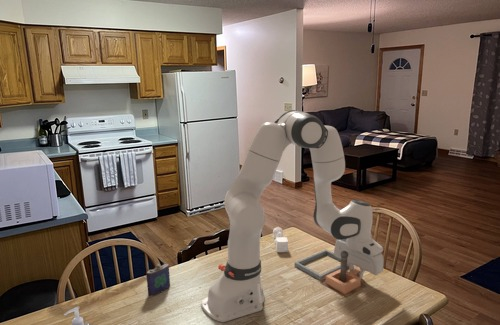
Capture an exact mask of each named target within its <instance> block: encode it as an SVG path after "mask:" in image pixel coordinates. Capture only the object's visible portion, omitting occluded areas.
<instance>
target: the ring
mask: <svg viewBox="0 0 500 325" xmlns="http://www.w3.org/2000/svg"><path fill="white" fill-rule="evenodd" d="M340 271H341V269H339V270H337V271H335V272H333V273H331V274H329V275H327V276H326V278H325V280H326V281H325V280H324V281H325V283H326V284H328V285H329V286H331V287H333V288H335V289H337V290H338V291H340V292H342V293H344V294H346V293H348V292H350V291H351V290H353V289H355V288H357V287H359V286H360V285H361V283H362V282H361V281H362V278H360V277H358V276H357V273H358V272H361V270H360V268H359V267H356V268H354V270H352V271H350V270H349V271H347V274H346V281H348V282H346V283H343V282H341V281H339V279H340Z"/></svg>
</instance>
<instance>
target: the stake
mask: <svg viewBox="0 0 500 325" xmlns="http://www.w3.org/2000/svg"><path fill="white" fill-rule="evenodd" d="M347 257H348V252H346V251H342V252H341V261H340V265H341V271H340V279H339V281H341V282H343V283H346V282H348V281H346V274H347V272H348V267H347ZM325 281H326V279H324V280H321V282H320V283H319V284H321V285H322V286H324V287H326V288H328V289H329V290H331V291H333V292H335V293H336V294H339V295H340V296H342V297H344V298H348V297H349V296H351V295H353V294H355V293H357V292H359V291H360V290H362V289H364V288H365V287H367V285H365V284H363V283H362V282H361V285H360V286H359V287H357V288H355V289H353V290H351V291H350V292H348V293H346V294H344V293H342V292H340V291H338V290H337V289H335V288H333V287H331V286H329V285H328V284H326V283H325Z"/></svg>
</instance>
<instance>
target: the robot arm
mask: <svg viewBox="0 0 500 325" xmlns="http://www.w3.org/2000/svg"><path fill="white" fill-rule="evenodd" d="M291 144H293V145H294V146H296V147H297V146H298V147H300V148H302V149H303V148H304V149H309V151H310V157H311V164H312V170H313V190H314V200H315V202H314V203H315V204H314V209H313V210H314V211H313V221H314V223H315V225H316V226H317V227H318V228H321V229H322V230H324V232H326V233H328V234H329V235H330V236H332V237H333V238H334V239H335V245H334V248H333V253H334V254H335V256H336V257H338V258H340V259H341V252H342V251H346V252H348V257H347V262H348V266H349V267H348V268H349V272H350V271H352V270H354V269H355V267H356V268H358V269H360V270H361V272H358V273H357V276H358V277H360V278H361V279H363V278H364V273H365V272H367V273H370V274H372V275H374V276H378V275H380V274H382V272H383V271H384V265H385V264H384V256H383V254H382V252H383V251H384V247H383V246H382V245H381V244H379V243H378V242H377V241H376V240H374V238H372V232H371V230H372V226H373V219H374V218H373V209H372V208H373V207H372V206H371V204H370V203H369V202H366V201H364V200H361V199H352V200H350V202H349V204H347V205H346V206H344V207H343V208H342V209H341V208H340V209H339V208H338V207H337V206H336V205H335V204H334V202H333V197H332V182H335V181H337V180H339V179H341V177H342V176H343V175H344V173H345V171H346V159H345V154H344V150H343V149H344V148H343V144H342V139H341V137H340V135H339V132H338V130H337V128H335V127H334V126H331V125H325V124H324V123H323V122H322V121H321V120H320V119H319V117H317V116H315V115H313V114H310V113H307V112H306V111H302V110H301V111H300V110H288V111H286V112H284V113H283V114H281V115H280V117H278V119H276V120H275V121H272V122H271V121H269V122H264V123H262V124H261V125H260V126H259V128H258V129H257V131H256V133H255V135H254V136H253V138H252V141H251V143H250V145H249V147H248V150H247V152H246V154H245V157H244V160H243V163H242V166H241V168H240V169H239V173H238V174H237V176H236V178H235V179H234V180H233V183H232V185H231V186H230V188H229V189H228V190H227V191H226V194H225V196H224V200H223V201H224V202H223V203H224V204H223V205H224V209H225V211H226V214H227V215H228V219H229V234H228V240H227V261H226V264H225V265H224V264H223V263H219V264H218V267H217V268H218V270H220V271H221V272H223V273H221V275H220V276H219V277H218V278H217V279H216V280H215V281H214V282H213V284H212V285H211V286H210V287H209V289H208V293H207V297H205V298H203V299H202V300H201V309H202V310H203V312H204V313H205V314H206V315H207V316H209V317H210V318H211V319H213V320H215V321H217V322H220V323H225V322H229V321H233V320H236V319H238V318H241V317H245V316H248V315H251V314H255V313H258V312H261V311H263V309H264V308H263V303H264V301H265V294H264V290H263V286H262V278H261V272H262V261H261V258H260V257H261V236H262V232H263V227H264V226H265V223H266V214H265V210H264V206H263V205H262V204H261V202H260V201H259V200H260V198H261V196H262V194H263V193H264V191H265V189H266V188H267V187H268V186H270V185H271V183H272V181H273V179H274V177H275V174H276V172H277V169H278V166H279V164H280V162H281V159H282V156H283V153H284V151H285V150H286V149H287V147H289V145H291ZM354 266H355V267H354Z"/></svg>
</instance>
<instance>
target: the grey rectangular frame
mask: <svg viewBox="0 0 500 325" xmlns="http://www.w3.org/2000/svg"><path fill="white" fill-rule="evenodd" d="M326 255H327V256H329V257H331V258H333V259H335V260H337V261H339V262H341V259H340V258H338V257H336V256H335V254H334V252H332V251H331V250H328V249H324V250H321V251H319V252H317V253H314V254H312V255H309V256H307V257H304V258H302V259H299V260H298V261H295V262H294V268H298V269H299V270H300V271H302V272H304V273H306V274H308V275H310V276H312V277H313V278H314V279H317V280H318V281H324V280H326V276H327V275H329V274H331V273H333V272H335V271H337V270H339V269H341V264H340V265H338V266H336V267H333V268H331V269H330V270H327V271H325V272H323V273H318V272H316V271H314V270H312V269H310V268H309V267H307V266H305V264H307V263H310V262H311V261H312V262H313V261H314V260H316V259H319V258H321V257H323V256H326ZM347 268H349V266H348V262H347Z"/></svg>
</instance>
